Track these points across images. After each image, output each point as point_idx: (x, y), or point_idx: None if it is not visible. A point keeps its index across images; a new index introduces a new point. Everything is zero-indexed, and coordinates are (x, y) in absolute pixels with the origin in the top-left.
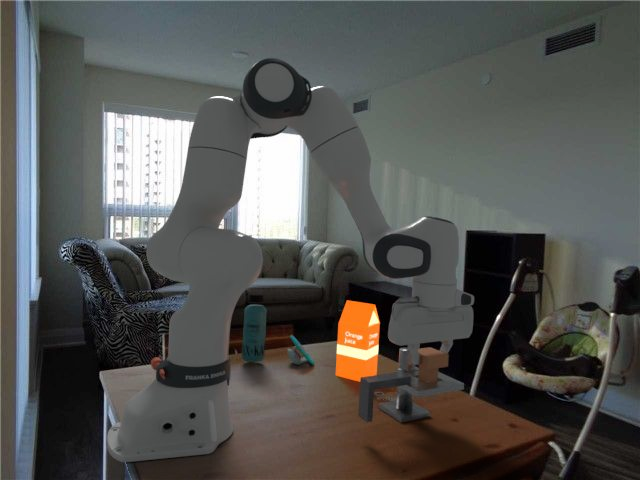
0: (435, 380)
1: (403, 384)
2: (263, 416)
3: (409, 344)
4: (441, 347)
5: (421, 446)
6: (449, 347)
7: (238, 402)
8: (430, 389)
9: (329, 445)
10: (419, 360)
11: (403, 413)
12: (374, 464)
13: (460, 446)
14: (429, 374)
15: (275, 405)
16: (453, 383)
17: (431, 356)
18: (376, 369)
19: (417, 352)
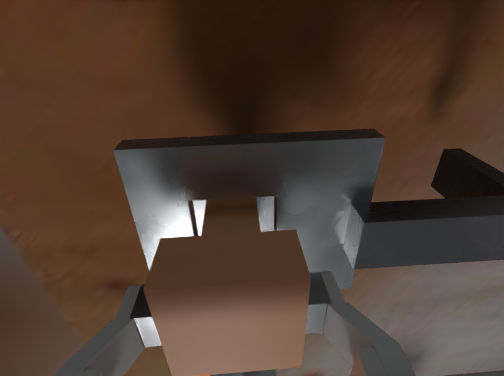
0: (216, 215)
1: (388, 203)
2: (494, 271)
3: (495, 372)
4: (129, 363)
5: (322, 67)
6: (92, 350)
7: (486, 315)
8: (318, 140)
9: (495, 147)
10: (323, 284)
11: (261, 206)
12: (493, 34)
13: (221, 23)
14: (251, 231)
15: (445, 297)
16: (167, 163)
17: (281, 285)
18: None
19: (358, 323)
